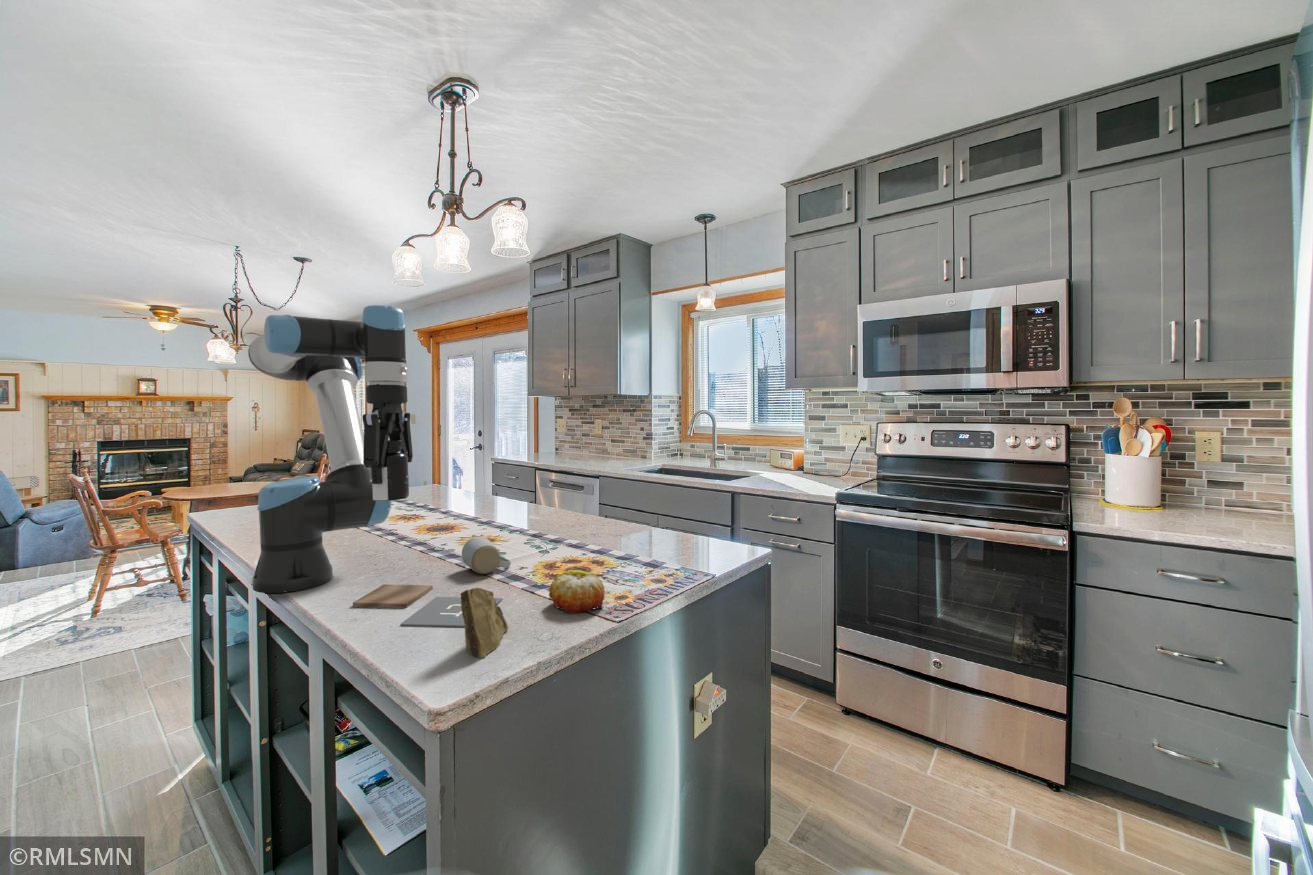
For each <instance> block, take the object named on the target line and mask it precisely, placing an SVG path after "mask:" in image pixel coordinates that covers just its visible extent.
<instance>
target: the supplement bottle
mask: <svg viewBox="0 0 1313 875" xmlns="http://www.w3.org/2000/svg"><path fill="white" fill-rule="evenodd" d="M401 449H402V440H390V439H388V443H387V450H386V456H385V462H384V467H387V481H388V500H376V501H391V502H392V501H399V500H405V499H407V498H408V497H410V484H409V482H410V481H409V478H410V477H409V462H408V457H407V455H406V454H404V453H402V452H401ZM371 472H372V469H371ZM372 495H373V488H372Z"/></svg>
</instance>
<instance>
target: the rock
mask: <svg viewBox="0 0 1313 875" xmlns="http://www.w3.org/2000/svg"><path fill="white" fill-rule="evenodd" d="M460 597H461V609H462V615H463V619H464V624H465V627H464V634H465V635H464V639H465V641H464V642H465V649H466V652H468V653H469V654H470V655H472V657H475V658H480V659H486V656H487V655H489V654H490V653H492V652H493V651H494V650H495V649H497V648H498V646H499V645H500V644H501V642H502V639H503V637H504V634H505V633H506V632H507V631H508V629H509V625H508V623H507V620H506V618H505V617H504V613H503V610H502V608H501V607H500V606H499V605H497V603H496V601H495V599H494V598H495V597H494V592H493V591H489V590H487V589H483V588H480V587H474V588H471V589H466V590H464V591H462V592H461V593H460Z"/></svg>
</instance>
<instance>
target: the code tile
mask: <svg viewBox="0 0 1313 875" xmlns="http://www.w3.org/2000/svg"><path fill="white" fill-rule="evenodd" d="M494 599H495V601H496V603H497V606H499V604H500V603H501V602H502V601H503V600H504V598H502V597H494ZM400 626H402V627H406V626H407V627H409V626H410V627H441V628H442V627H445V628H446V627H447V628H448V627H449V628H450V627H451V628H465V624H464V619H463V615H462V609H461V596H460V597H459V596H457V597H456V596H435V597H434V598H433V599H431V600H430V601H429V602H428V603H426V604H425V605H424V606H422V607H421V608H420V609H418V610H417V611H416V612H414V613H413V614H411V615H410V616H409V617H407V619H405V620H404V621H402V622H401V623H400Z"/></svg>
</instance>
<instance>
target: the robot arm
mask: <svg viewBox="0 0 1313 875" xmlns="http://www.w3.org/2000/svg"><path fill="white" fill-rule="evenodd" d="M264 322H265V323H264V328H263V330H264V331H263V334H261V335H259V336H257V337H256V338H254V340H252V342H251V343H250V344H249V347H248V349H247V352H248V353H247V354H248V359H249V361H250V363H251V365H252V366H253V367H254V368H255V369H256V370H258V371H259V372H261V373H262V374H264V375H267V376H269V377H272V378H274V379H277V380H284V381H285V380H286V381H295V382H296V381H297V382H298V381H299V382H300V381H301V382H306V386H307V388H308V389H309V390H310V391H311V392H313V393H315V396H316V401H317V405H318V410H319V416H320V421H321V426H322V431H323V436H324V441H325V445H326V446H325V447H326V451H327V458H328V462H329V468H330V471H329V472H328V473H327V474H326V475H325V481H321V479H320V477H319V476H317V475H309V476H298V477H293V478H288V479H283V480H279V481H275V482H272V483H269V484H266V485H264V486H262V488H261V489H260V490H259V491H258V496H257V497H258V498H257V499H258V501H257V503H258V504H257V511H258V517H259V540H260V555H259V558H258V561H257V564H256V567H255V570H254V574H253V577H252V590H253V591H254V592H257V593H262V594H281V593H285V592H284V591H291V592H296V591H298V592H299V591H302V590H307V589H312V588H314V587H317V586H320V585H323V584H325V583H327V582H329V581H330V580H331V579H333V577H334V574H333V573H334V571H333V566H332V565H333V564H331V563H330V562H331V561H330V559H329V556H328V554H327V552H326V550H325V547H324V544H323V533H326V532H335V531H341V530H349V529H355V528H363V527H365V528H367V527H369V526H374V525H378V524H382V523H384V522H385V521H387V519H388V517H389V515H390V511H391V509H392V501H376V500H388V481H387V467H384V462H385V456H386V450H387V443H388V440H402V449H401V452H402V453H404V454H406V455H407V457H408V463H412V462H413V457H414V456H413V455H414V454H413V444H412V434H411V433H412V432H411V424H410V423H411V413H410V412H403V407H402V404H406V403H407V402H408V387H407V385H404V384H405V383H407V372H408V368H407V364H406V363H407V358H406V357H407V355H406V353H407V352H406V349H407V348H406V328H407V326H406V323H405V314H404V312H403V310H402V309H401V308H400V307H396V306H392V305H391V306H389V305H380V304H379V305H377V304H375V305H367V306H365V307H363V310H362V319H361V321H356V320H341V319H332V318H331V319H328V318H325V319H324V318H317V317H306V316H298V315H297V316H294V315H291V314H283V315H282V314H281V315H279V314H271V315H270V314H269V315H268V316H266V318H265V321H264ZM363 360H364V367H363V364H362V361H363ZM363 369H364V376H365V377H364V378H365V379H364V380H365V382H366V383H368V385H366V387H365V395H366V396H365V397H366V400H365V401H366V403H367V404H372V410H371V413H369V414H368V413H364V414H363V415H362V423H363V427H362V423H361V417H360V413H359V409H358V405H357V401H356V396H355V391H354V388H355V387H356V386H357V385H358V382H359V381H360V380H361V379H362V376H363ZM371 469H372V472H371ZM372 488H373V495H372Z"/></svg>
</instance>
